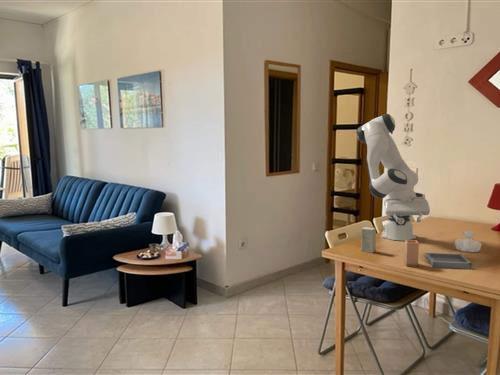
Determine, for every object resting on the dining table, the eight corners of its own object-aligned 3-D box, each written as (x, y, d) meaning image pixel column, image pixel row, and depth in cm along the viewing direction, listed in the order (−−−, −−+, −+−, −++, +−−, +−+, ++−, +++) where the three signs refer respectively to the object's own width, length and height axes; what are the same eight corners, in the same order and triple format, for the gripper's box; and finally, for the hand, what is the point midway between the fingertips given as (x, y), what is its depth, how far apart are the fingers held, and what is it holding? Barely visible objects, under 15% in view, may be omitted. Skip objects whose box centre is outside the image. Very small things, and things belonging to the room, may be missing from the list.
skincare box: (375, 251, 206) (376, 228, 205) (371, 253, 203) (372, 229, 202) (364, 249, 211) (364, 226, 209) (360, 251, 207) (361, 228, 206)
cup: (404, 262, 187) (405, 239, 186) (415, 263, 186) (416, 240, 185) (406, 266, 182) (407, 242, 181) (417, 266, 181) (418, 243, 180)
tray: (425, 257, 194) (425, 252, 194) (460, 259, 191) (461, 254, 191) (432, 267, 181) (433, 261, 180) (471, 268, 178) (471, 263, 177)
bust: (480, 256, 203) (481, 236, 208) (481, 250, 197) (482, 229, 202) (454, 253, 209) (455, 233, 214) (453, 247, 203) (455, 227, 208)
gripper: (384, 195, 201) (385, 217, 193) (428, 194, 196) (431, 217, 187) (383, 203, 206) (385, 225, 197) (427, 202, 200) (430, 225, 192)
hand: (408, 221), depth 192 cm, fingers open, 8 cm apart
